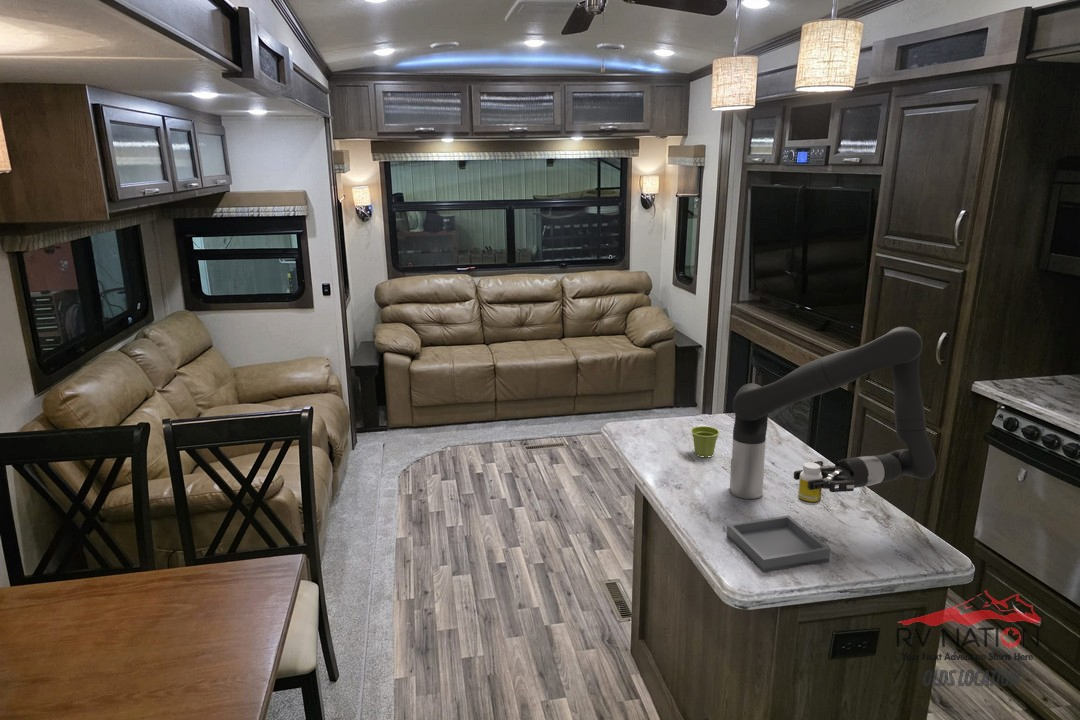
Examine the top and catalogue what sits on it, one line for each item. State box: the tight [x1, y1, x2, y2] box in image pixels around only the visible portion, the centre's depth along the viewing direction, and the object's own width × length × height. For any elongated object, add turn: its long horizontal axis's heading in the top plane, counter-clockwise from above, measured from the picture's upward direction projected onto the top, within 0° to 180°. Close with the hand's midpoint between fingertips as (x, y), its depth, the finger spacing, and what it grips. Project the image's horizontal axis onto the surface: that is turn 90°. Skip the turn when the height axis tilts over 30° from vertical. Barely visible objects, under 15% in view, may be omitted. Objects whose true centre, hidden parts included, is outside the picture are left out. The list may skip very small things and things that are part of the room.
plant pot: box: [690, 425, 720, 458], centre depth 236 cm, size 9×9×9 cm
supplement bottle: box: [797, 462, 823, 506], centre depth 176 cm, size 5×5×10 cm
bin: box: [726, 514, 831, 573], centre depth 177 cm, size 18×18×4 cm
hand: (801, 480), depth 175 cm, fingers closed on supplement bottle, 5 cm apart
